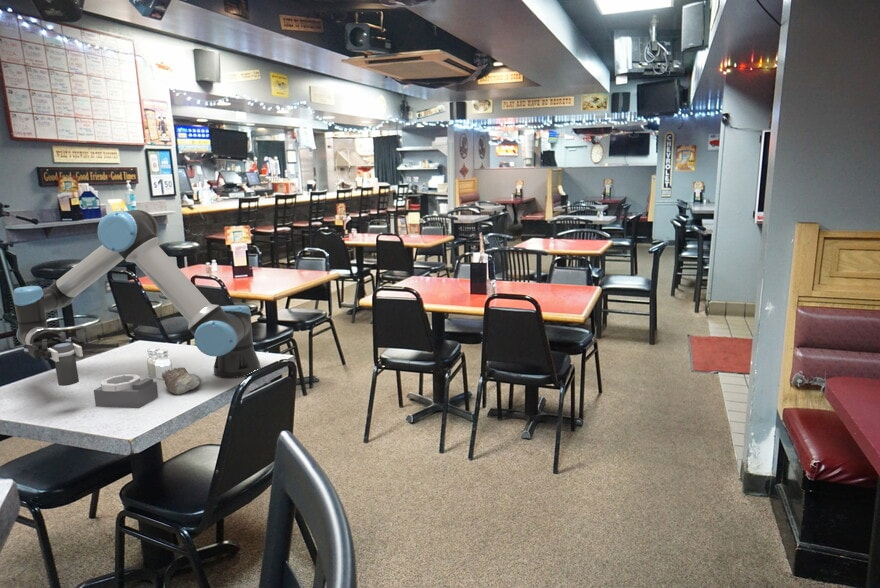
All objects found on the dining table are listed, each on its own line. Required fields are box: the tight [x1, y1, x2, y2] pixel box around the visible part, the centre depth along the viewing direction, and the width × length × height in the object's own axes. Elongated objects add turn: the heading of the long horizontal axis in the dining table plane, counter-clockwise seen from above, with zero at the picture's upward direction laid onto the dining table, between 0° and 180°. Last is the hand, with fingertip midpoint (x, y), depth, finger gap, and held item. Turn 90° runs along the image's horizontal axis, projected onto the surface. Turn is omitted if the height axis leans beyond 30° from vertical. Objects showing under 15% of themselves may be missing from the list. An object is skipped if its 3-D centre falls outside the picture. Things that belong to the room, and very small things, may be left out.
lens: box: [52, 343, 80, 387], centre depth 166 cm, size 5×5×11 cm
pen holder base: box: [93, 373, 159, 409], centre depth 174 cm, size 14×10×7 cm
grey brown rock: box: [161, 367, 202, 395], centre depth 184 cm, size 14×9×10 cm
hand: (69, 354), depth 162 cm, fingers closed on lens, 5 cm apart
